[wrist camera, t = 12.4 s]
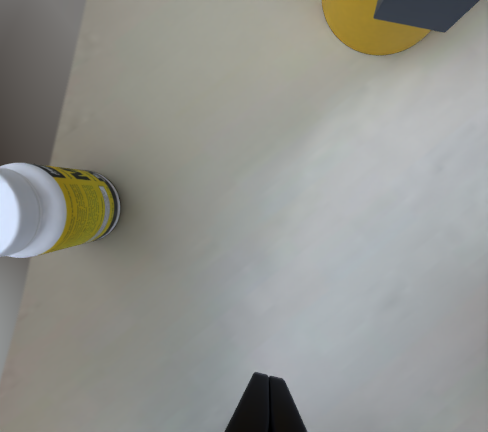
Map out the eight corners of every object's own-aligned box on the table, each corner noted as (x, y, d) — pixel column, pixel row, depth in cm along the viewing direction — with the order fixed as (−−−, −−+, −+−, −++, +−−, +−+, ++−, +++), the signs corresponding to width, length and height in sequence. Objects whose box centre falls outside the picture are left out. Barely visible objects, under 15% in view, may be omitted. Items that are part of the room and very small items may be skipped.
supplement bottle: (120, 168, 22) (24, 153, 13) (125, 239, 22) (35, 268, 14) (51, 172, 22) (-83, 160, 14) (57, 242, 22) (-70, 271, 14)
